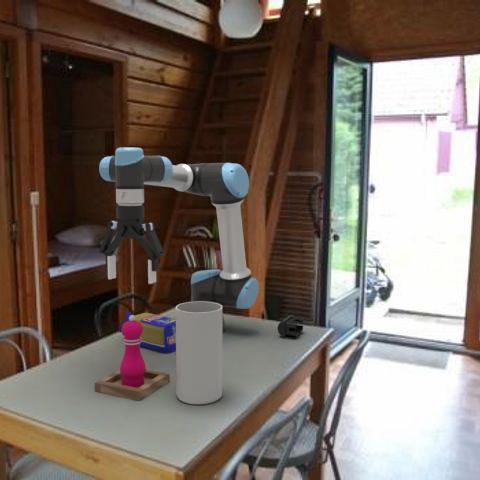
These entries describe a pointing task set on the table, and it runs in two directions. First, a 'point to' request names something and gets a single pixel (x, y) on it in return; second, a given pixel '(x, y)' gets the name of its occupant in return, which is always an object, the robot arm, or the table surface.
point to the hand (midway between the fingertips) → (131, 280)
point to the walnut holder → (115, 387)
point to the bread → (156, 331)
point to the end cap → (290, 327)
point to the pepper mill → (132, 354)
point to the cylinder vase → (199, 352)
